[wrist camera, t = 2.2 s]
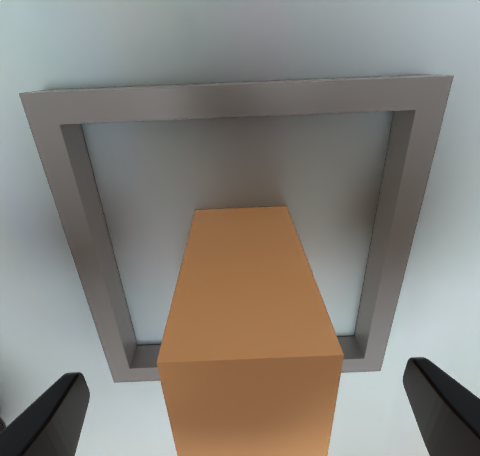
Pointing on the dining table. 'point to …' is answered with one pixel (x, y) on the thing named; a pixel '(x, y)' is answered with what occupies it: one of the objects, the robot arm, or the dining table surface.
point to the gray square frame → (227, 106)
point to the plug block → (248, 341)
